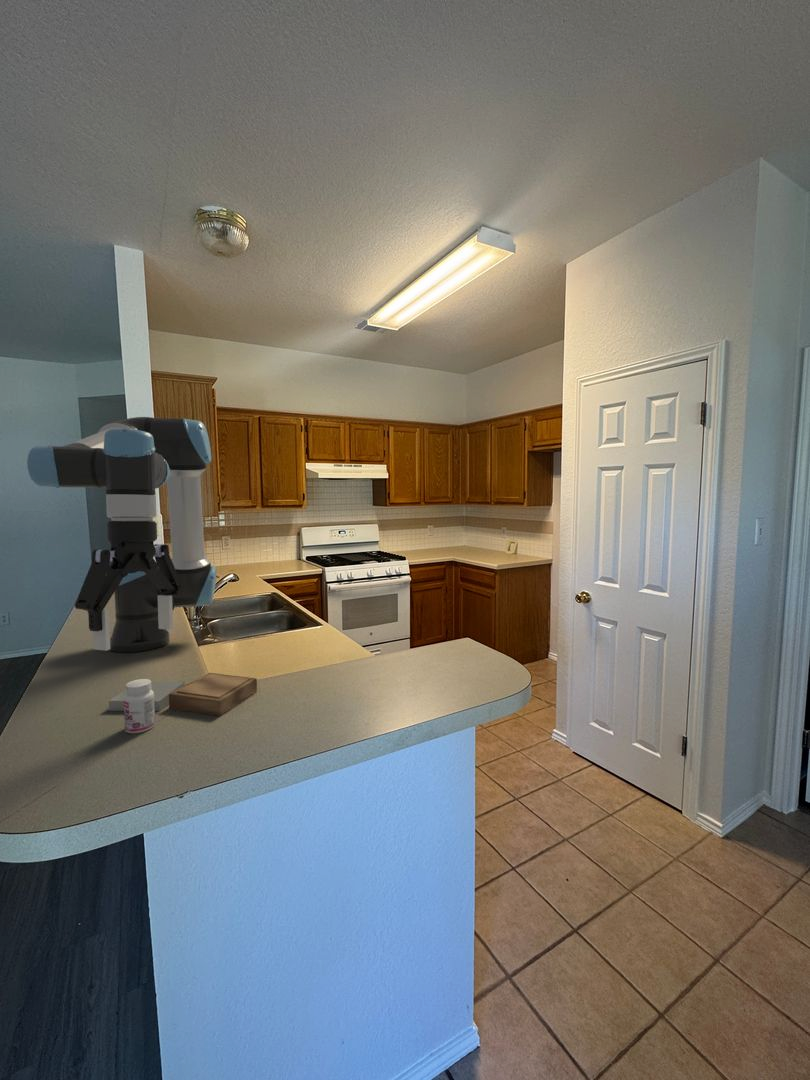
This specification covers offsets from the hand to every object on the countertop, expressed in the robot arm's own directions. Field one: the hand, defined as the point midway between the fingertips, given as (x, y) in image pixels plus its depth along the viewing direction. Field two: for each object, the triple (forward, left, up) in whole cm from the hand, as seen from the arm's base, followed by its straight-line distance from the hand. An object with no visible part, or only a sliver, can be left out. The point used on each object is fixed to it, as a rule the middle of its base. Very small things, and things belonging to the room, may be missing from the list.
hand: (136, 638), depth 81 cm
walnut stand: (-14, +5, -17) cm, 22 cm away
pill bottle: (0, 0, -17) cm, 17 cm away
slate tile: (-10, -8, -17) cm, 21 cm away
